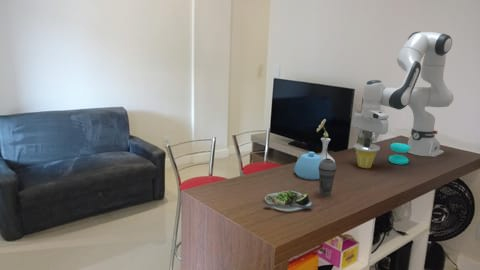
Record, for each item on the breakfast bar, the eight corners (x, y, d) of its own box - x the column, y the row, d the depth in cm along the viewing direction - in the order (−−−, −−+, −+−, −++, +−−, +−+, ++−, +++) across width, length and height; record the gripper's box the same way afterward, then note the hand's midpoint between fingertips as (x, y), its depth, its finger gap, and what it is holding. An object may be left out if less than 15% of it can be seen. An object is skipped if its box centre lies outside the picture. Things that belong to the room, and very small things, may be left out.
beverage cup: (330, 199, 148) (334, 152, 143) (313, 195, 152) (317, 149, 147) (336, 193, 154) (340, 148, 149) (319, 189, 158) (323, 145, 153)
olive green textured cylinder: (351, 152, 215) (357, 93, 206) (360, 148, 223) (366, 91, 215) (366, 155, 209) (372, 95, 201) (374, 151, 217) (381, 93, 209)
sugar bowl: (288, 175, 175) (289, 152, 172) (305, 167, 186) (306, 146, 183) (315, 183, 165) (317, 159, 162) (331, 175, 176) (333, 152, 173)
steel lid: (364, 143, 197) (365, 134, 196) (385, 149, 186) (386, 139, 185) (348, 146, 190) (349, 137, 189) (368, 153, 179) (369, 143, 178)
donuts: (388, 144, 195) (394, 141, 203) (385, 162, 197) (391, 158, 205) (407, 148, 189) (413, 144, 196) (405, 166, 191) (410, 162, 199)
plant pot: (372, 163, 195) (374, 146, 193) (377, 169, 185) (379, 151, 183) (352, 162, 196) (354, 145, 194) (356, 168, 186) (358, 150, 184)
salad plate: (273, 218, 131) (274, 207, 130) (253, 199, 147) (253, 188, 146) (319, 210, 138) (320, 199, 137) (295, 193, 154) (295, 183, 153)
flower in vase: (318, 159, 200) (321, 114, 194) (338, 163, 193) (342, 117, 187) (307, 165, 189) (311, 118, 183) (328, 170, 183) (332, 121, 177)
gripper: (350, 109, 191) (348, 135, 194) (383, 116, 174) (379, 144, 177) (358, 109, 194) (356, 134, 197) (391, 115, 177) (388, 143, 180)
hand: (367, 139), depth 187 cm, fingers open, 7 cm apart
